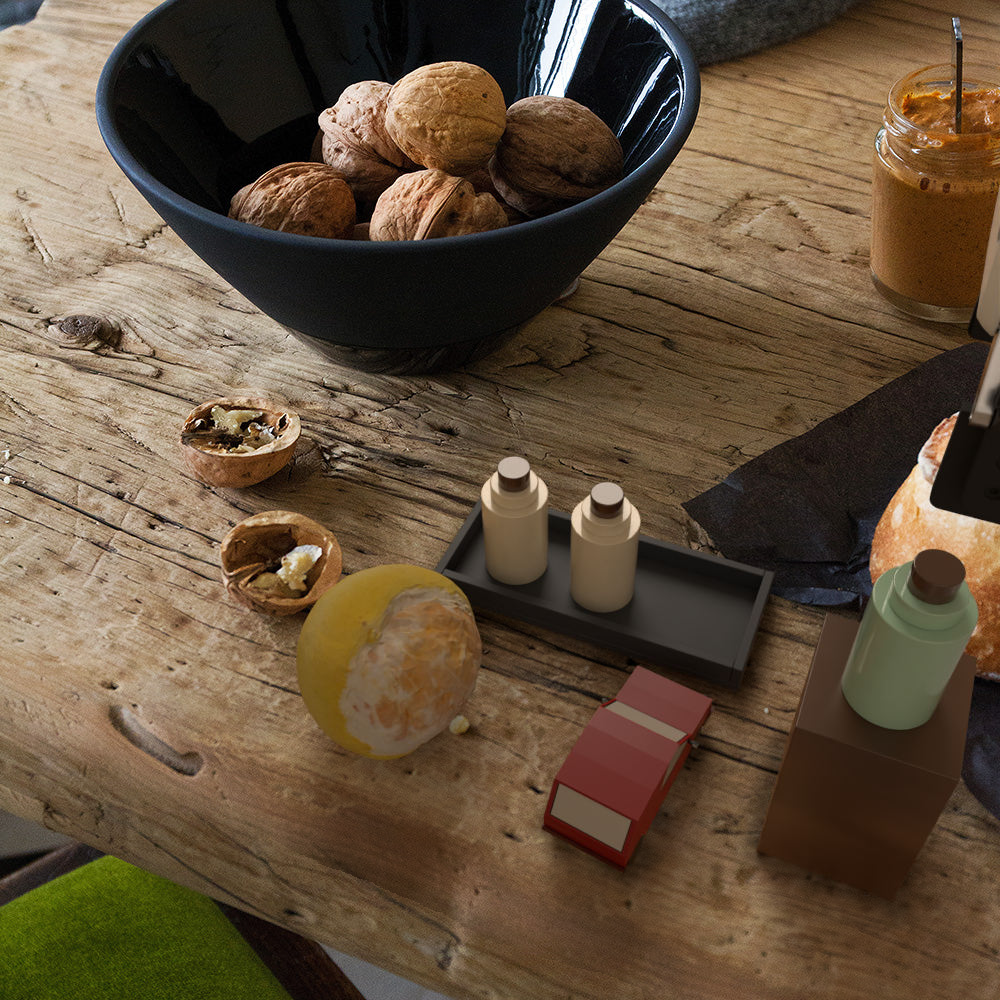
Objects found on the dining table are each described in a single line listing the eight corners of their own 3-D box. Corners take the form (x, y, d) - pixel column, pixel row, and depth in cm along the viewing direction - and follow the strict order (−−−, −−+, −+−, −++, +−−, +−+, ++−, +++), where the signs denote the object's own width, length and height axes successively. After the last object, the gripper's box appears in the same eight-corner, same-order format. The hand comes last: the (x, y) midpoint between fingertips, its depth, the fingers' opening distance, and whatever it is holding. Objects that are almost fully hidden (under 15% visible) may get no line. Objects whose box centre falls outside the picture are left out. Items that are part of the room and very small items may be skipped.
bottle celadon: (942, 670, 48) (1000, 545, 42) (930, 743, 45) (990, 621, 39) (850, 642, 49) (893, 517, 43) (833, 711, 46) (876, 589, 40)
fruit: (281, 761, 59) (245, 658, 52) (361, 620, 66) (339, 512, 59) (445, 815, 56) (431, 713, 49) (511, 662, 63) (506, 554, 56)
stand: (912, 786, 57) (977, 656, 48) (892, 901, 52) (960, 781, 44) (785, 743, 59) (826, 612, 50) (756, 850, 54) (794, 726, 46)
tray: (770, 593, 67) (775, 572, 65) (737, 692, 61) (742, 671, 60) (486, 510, 73) (484, 489, 71) (434, 593, 68) (432, 572, 66)
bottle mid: (642, 573, 67) (652, 479, 61) (621, 620, 65) (629, 527, 59) (582, 555, 69) (586, 461, 62) (559, 601, 66) (561, 507, 60)
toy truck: (717, 725, 60) (730, 675, 56) (629, 891, 53) (638, 847, 49) (627, 682, 62) (634, 631, 58) (531, 836, 55) (533, 790, 52)
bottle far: (557, 548, 69) (558, 454, 63) (533, 593, 66) (532, 499, 60) (500, 531, 70) (496, 437, 64) (474, 574, 68) (467, 480, 62)
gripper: (1492, 12, 17) (1103, 637, 29) (1366, -214, 28) (1121, 310, 40) (1012, -35, 20) (836, 562, 32) (1069, -226, 30) (922, 272, 43)
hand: (996, 420), depth 36 cm, fingers open, 9 cm apart
